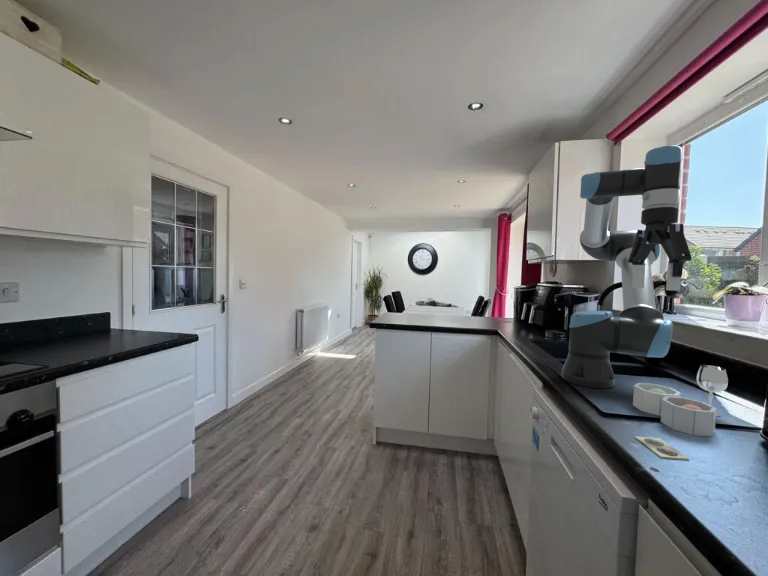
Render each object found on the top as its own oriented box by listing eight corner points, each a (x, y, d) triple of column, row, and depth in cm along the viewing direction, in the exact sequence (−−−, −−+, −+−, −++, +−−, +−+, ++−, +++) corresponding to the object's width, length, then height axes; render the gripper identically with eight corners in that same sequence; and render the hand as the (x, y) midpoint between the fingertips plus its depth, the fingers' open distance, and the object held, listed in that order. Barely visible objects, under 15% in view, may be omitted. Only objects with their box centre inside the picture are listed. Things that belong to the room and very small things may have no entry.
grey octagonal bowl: (653, 417, 84) (654, 395, 84) (692, 419, 83) (694, 397, 83) (680, 434, 75) (682, 410, 75) (725, 437, 74) (727, 413, 74)
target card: (634, 437, 73) (634, 435, 73) (659, 439, 72) (659, 437, 72) (660, 457, 65) (660, 455, 65) (689, 460, 65) (689, 457, 64)
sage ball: (638, 400, 92) (642, 384, 91) (658, 401, 91) (663, 385, 90) (650, 411, 87) (655, 394, 86) (671, 413, 87) (676, 396, 85)
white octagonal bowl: (626, 401, 94) (628, 382, 94) (661, 403, 93) (663, 384, 93) (648, 415, 85) (649, 393, 85) (687, 417, 84) (688, 396, 84)
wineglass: (703, 407, 91) (706, 363, 91) (730, 416, 86) (734, 369, 85) (689, 409, 90) (692, 365, 89) (716, 418, 84) (719, 371, 83)
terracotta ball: (668, 412, 82) (678, 399, 79) (691, 414, 81) (701, 400, 78) (681, 431, 77) (691, 417, 75) (705, 433, 77) (716, 419, 74)
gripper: (617, 216, 101) (612, 286, 102) (680, 198, 77) (673, 291, 78) (644, 216, 101) (639, 287, 102) (716, 198, 76) (709, 292, 77)
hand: (654, 289), depth 90 cm, fingers open, 13 cm apart
